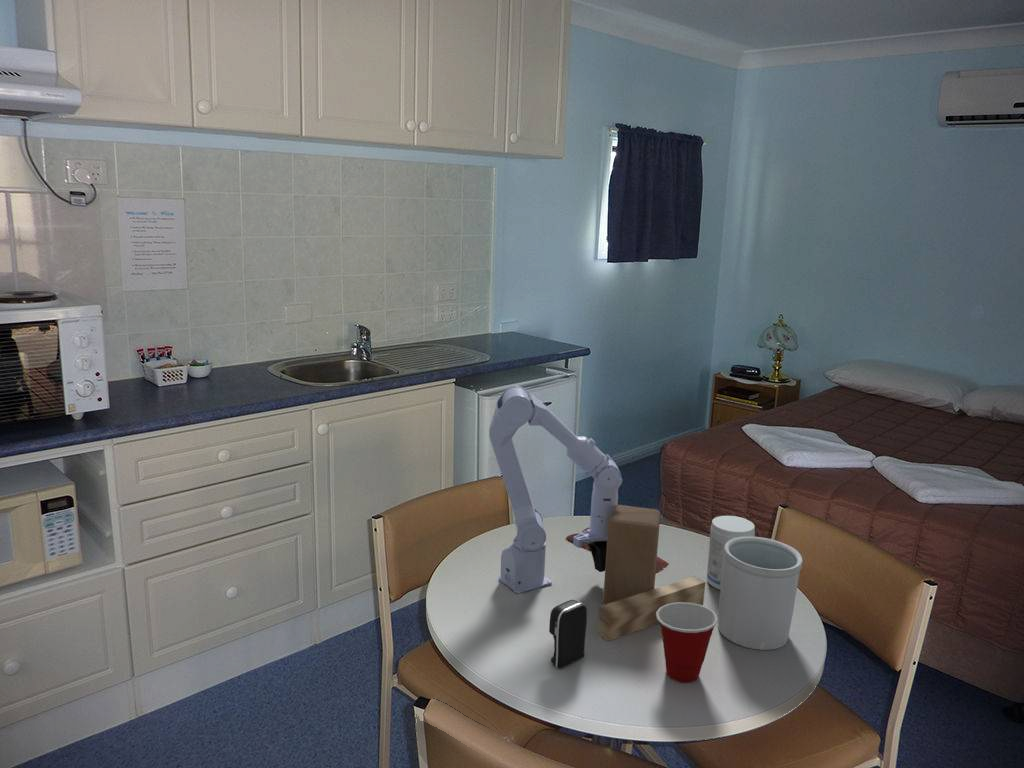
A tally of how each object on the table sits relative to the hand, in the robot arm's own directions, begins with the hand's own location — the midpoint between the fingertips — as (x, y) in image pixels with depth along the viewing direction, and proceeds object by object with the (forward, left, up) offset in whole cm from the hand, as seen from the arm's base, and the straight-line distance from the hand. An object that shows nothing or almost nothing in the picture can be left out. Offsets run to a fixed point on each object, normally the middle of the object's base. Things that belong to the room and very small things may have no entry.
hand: (599, 569), depth 177 cm
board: (-1, -19, -3) cm, 19 cm away
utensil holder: (+14, -32, -3) cm, 35 cm away
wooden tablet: (+14, +10, -4) cm, 18 cm away
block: (0, -10, -3) cm, 10 cm away
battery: (-25, -21, -3) cm, 33 cm away
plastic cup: (-9, -35, -3) cm, 36 cm away
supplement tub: (+25, -15, -3) cm, 29 cm away
